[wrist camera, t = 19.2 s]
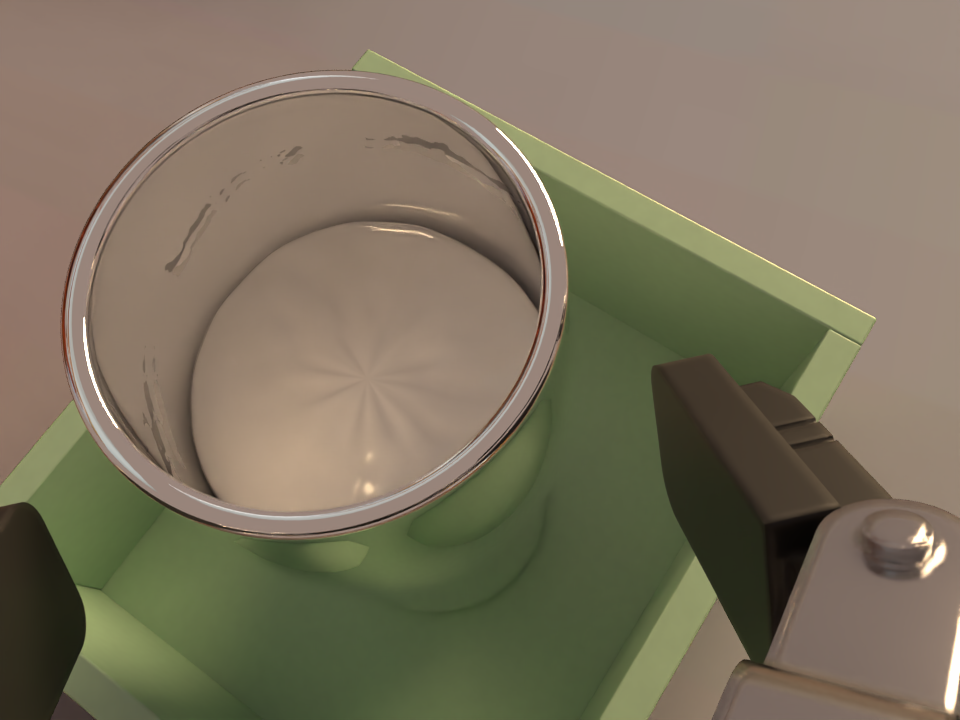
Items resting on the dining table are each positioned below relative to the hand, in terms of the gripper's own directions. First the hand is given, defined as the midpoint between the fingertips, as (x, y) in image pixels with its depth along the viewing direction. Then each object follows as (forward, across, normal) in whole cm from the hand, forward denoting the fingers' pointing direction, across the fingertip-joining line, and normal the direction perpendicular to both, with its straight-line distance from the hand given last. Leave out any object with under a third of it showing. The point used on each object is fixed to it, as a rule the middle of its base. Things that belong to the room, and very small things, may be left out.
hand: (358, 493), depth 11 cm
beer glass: (+12, 0, +8) cm, 14 cm away
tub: (+12, 0, +8) cm, 15 cm away
